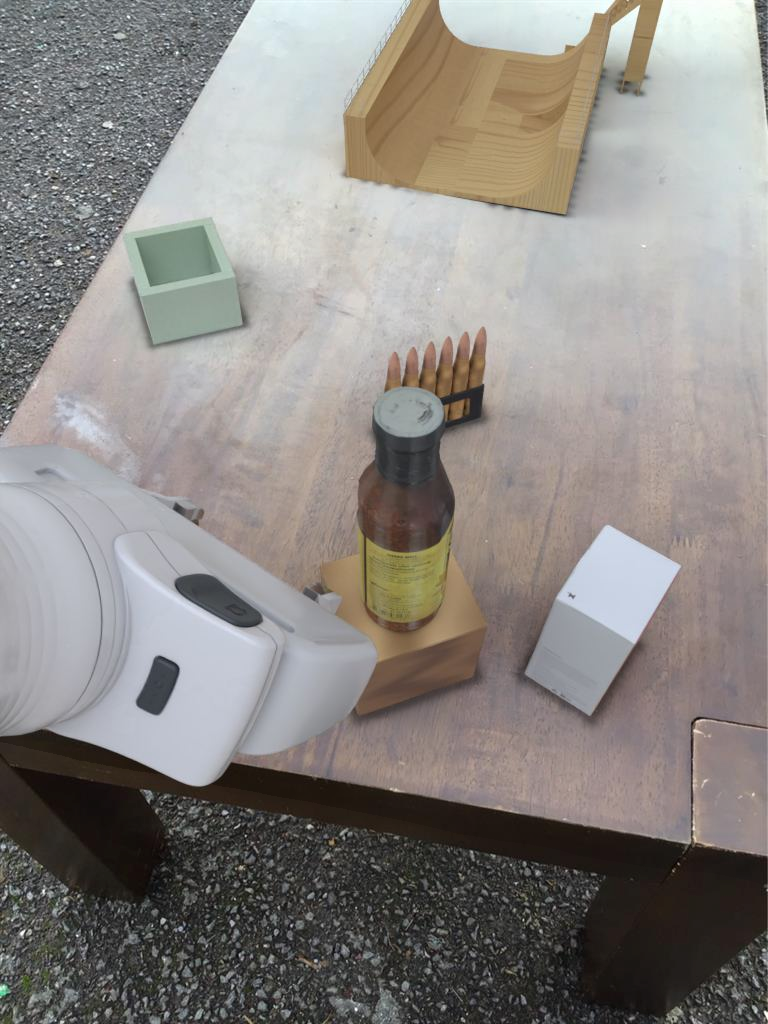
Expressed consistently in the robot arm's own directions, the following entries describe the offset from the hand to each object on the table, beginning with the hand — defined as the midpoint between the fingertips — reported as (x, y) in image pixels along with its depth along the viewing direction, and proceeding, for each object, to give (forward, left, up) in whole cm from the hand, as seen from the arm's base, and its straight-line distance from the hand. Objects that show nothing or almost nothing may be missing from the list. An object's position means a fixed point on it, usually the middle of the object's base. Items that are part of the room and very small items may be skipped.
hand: (256, 557), depth 44 cm
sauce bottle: (+10, +3, -16) cm, 19 cm away
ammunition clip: (+22, +25, -25) cm, 42 cm away
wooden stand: (+10, +3, -25) cm, 27 cm away
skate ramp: (+54, +75, -25) cm, 96 cm away
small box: (+24, -3, -25) cm, 35 cm away
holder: (+3, +51, -25) cm, 57 cm away
